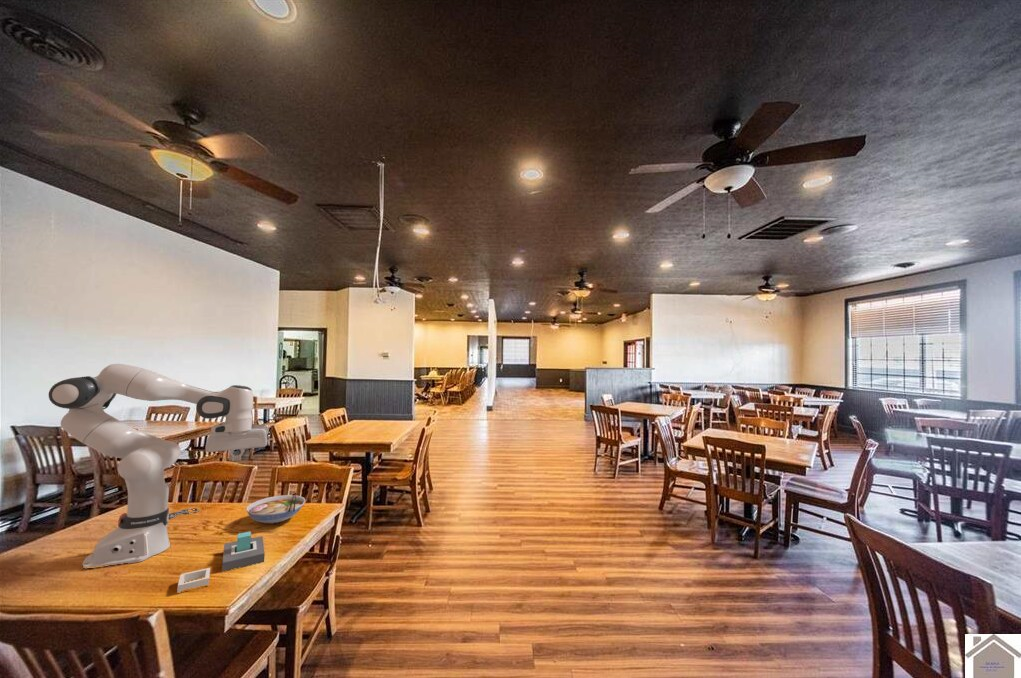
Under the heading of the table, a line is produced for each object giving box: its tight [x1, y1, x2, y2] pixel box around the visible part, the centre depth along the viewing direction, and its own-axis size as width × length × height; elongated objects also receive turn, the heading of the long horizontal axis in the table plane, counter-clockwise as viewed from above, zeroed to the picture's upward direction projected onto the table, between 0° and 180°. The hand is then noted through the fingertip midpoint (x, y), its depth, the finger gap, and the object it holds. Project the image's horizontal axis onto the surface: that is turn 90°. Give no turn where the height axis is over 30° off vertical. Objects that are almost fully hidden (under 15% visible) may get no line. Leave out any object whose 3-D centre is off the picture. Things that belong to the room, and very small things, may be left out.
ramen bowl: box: [245, 492, 306, 525], centre depth 170 cm, size 25×23×8 cm
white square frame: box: [176, 567, 211, 594], centre depth 122 cm, size 8×8×2 cm
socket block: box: [221, 535, 266, 572], centre depth 139 cm, size 12×16×3 cm
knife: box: [169, 507, 200, 520], centre depth 166 cm, size 28×2×10 cm
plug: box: [236, 531, 252, 552], centre depth 139 cm, size 4×4×8 cm
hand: (236, 460), depth 153 cm, fingers closed
